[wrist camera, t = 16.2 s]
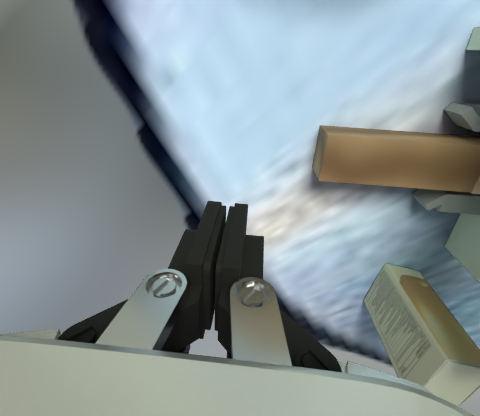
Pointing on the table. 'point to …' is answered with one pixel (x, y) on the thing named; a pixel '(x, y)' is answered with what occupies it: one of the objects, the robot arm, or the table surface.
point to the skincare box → (423, 335)
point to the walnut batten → (398, 159)
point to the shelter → (469, 205)
